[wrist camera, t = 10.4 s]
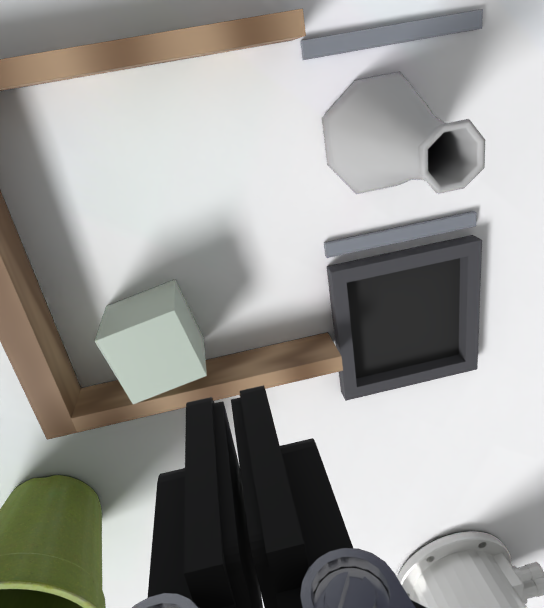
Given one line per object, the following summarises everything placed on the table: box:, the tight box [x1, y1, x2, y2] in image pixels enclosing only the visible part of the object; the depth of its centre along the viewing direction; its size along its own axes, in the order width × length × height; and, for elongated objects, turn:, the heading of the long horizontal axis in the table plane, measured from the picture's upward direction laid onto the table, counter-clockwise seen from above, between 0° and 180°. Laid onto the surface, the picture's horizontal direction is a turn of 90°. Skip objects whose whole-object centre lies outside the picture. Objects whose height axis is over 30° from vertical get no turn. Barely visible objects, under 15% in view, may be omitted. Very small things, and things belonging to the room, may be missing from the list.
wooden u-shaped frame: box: [0, 9, 343, 439], centre depth 30 cm, size 20×22×4 cm
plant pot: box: [0, 475, 105, 608], centre depth 34 cm, size 12×12×11 cm
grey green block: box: [95, 280, 207, 404], centre depth 32 cm, size 5×5×5 cm
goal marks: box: [301, 9, 483, 258], centre depth 31 cm, size 11×13×1 cm
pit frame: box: [327, 235, 482, 400], centre depth 37 cm, size 11×11×1 cm
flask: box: [322, 72, 485, 194], centre depth 27 cm, size 7×7×10 cm
